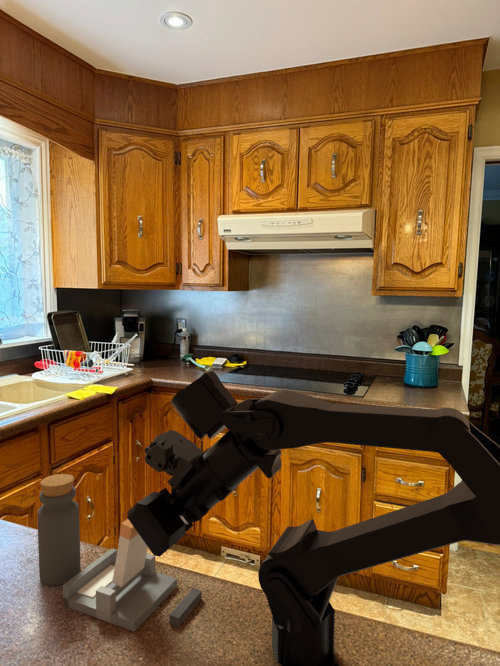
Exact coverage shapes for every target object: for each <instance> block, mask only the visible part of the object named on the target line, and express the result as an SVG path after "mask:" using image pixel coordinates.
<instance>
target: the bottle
mask: <svg viewBox="0 0 500 666" xmlns="http://www.w3.org/2000/svg"><path fill="white" fill-rule="evenodd" d="M74 477H75V476H73V475H72V474H69V473H68V474H67V473H58V474H57V473H56V474H52V475H49V476H46V477H45V478H43V479H42V480H41V481H40V487H41V491H40V492H39V495H38V497H39V498H38V499H39V502H40V504H42V505H41V506H40V507H39V508H38V510H37V512H36V513H37V514H36V515H37V544H38V545H37V547H38V548H37V549H38V550H37V551H38V569H39V570H38V571H39V572H38V573H39V581H40V582H41V583H42V584H43V585H46V586H61V585H62V586H63V585H64V584H65V583H66V582H68V581H69V580H70V579H72V578H73V577H74V576H76V575H77V574H78V573H80V572H81V533H80V532H81V530H80V526H81V525H80V507H79V503H78V501H75V500H74V499H75V497H76V495H77V490H76V487H75V486H74V482H75V478H74Z"/></svg>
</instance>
